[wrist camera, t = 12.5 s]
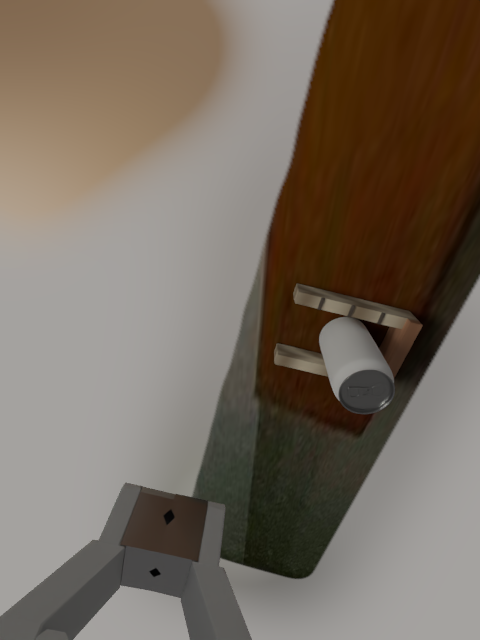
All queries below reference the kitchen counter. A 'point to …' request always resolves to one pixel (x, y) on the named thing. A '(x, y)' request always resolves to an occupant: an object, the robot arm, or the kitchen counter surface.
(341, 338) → the can
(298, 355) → the wooden rack
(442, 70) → the kitchen counter surface
